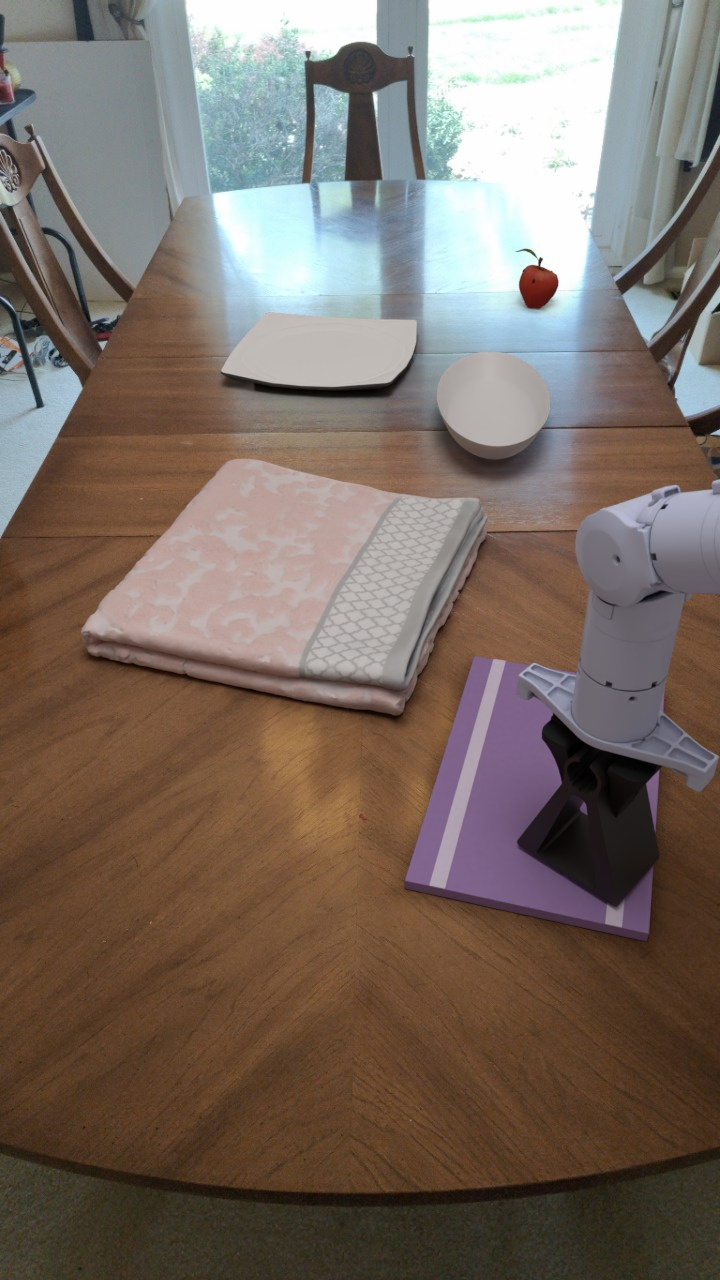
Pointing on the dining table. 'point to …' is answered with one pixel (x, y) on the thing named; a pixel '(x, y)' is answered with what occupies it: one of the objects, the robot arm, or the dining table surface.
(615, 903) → the phone stand
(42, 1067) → the dining table surface
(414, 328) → the plate
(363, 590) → the towel
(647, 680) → the robot arm
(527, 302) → the apple
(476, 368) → the bowl
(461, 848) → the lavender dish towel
